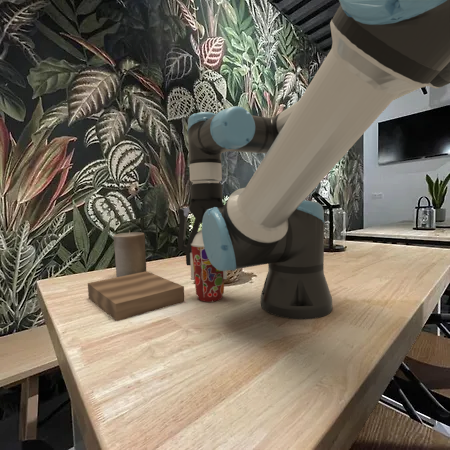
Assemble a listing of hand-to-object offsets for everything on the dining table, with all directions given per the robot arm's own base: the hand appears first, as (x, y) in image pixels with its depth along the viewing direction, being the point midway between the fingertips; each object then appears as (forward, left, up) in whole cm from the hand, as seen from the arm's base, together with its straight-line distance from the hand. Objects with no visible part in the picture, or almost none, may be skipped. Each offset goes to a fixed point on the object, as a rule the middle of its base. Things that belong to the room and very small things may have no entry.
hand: (209, 277), depth 70 cm
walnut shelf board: (+12, +14, -5) cm, 19 cm away
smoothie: (0, 0, -5) cm, 5 cm away
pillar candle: (+36, +5, -6) cm, 37 cm away
